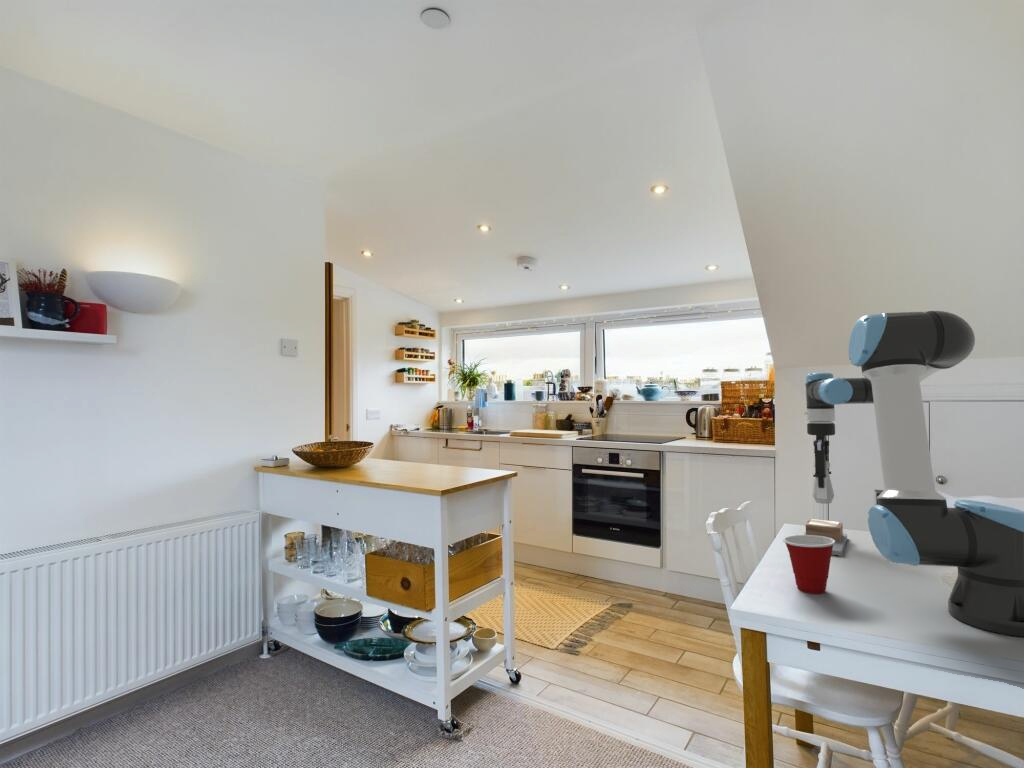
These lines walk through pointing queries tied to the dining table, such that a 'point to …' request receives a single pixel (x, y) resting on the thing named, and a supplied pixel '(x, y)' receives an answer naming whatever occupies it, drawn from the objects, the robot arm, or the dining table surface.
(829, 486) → the salt shaker
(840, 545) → the build plate
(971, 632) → the dining table surface
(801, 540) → the plastic cup
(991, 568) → the robot arm
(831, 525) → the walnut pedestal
